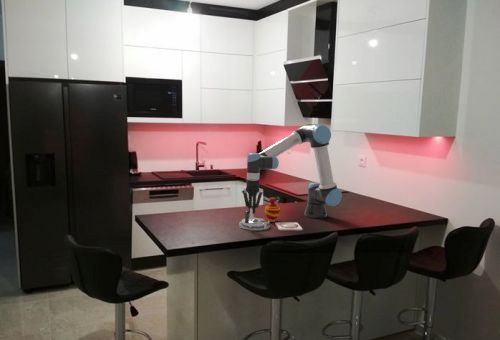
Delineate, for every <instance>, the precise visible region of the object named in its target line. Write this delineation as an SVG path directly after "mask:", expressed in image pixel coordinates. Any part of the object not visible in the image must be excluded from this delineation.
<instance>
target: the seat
mask: <svg viewBox="0 0 500 340" xmlns="http://www.w3.org/2000/svg"><path fill="white" fill-rule="evenodd" d="M275 226H276V227H277V229H278V230H279V231H303V228H302V226H301V225H300V224H299V223H298V222H275Z"/></svg>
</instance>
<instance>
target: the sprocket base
mask: <svg viewBox="0 0 500 340" xmlns="http://www.w3.org/2000/svg"><path fill="white" fill-rule="evenodd" d="M238 227H239V229H243V230H245V231H251V230H252V231H253V232H258V231H267V230H269V229H271V225H270V223H268V225H267V226H266V227H261V228H251V227H246V226H243V225H242V224H239V223H238Z"/></svg>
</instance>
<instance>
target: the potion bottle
mask: <svg viewBox="0 0 500 340" xmlns="http://www.w3.org/2000/svg"><path fill="white" fill-rule="evenodd" d="M276 198H277V197H269V204H266V206H265V208H264V211H263V212H264V214H265V215H264V216H266V217H267V219H268V220H267V221H269V223H270V222H272V223H274V222H275V223H276V219H277V218H278V217H279V216H280V212H281V207H279V205H277V204H276V201H277V200H276Z"/></svg>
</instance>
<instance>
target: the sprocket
mask: <svg viewBox="0 0 500 340" xmlns="http://www.w3.org/2000/svg"><path fill="white" fill-rule="evenodd" d="M239 224H242V225H243V226H246V227H251V228H261V227H266V226H267V225H268V224H270V222H269V221H268V220H267V219H265V218H261V217H254V219H250V213H249V210H245V212H244V218H243V219H241V221H239V223H238V225H239Z"/></svg>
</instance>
